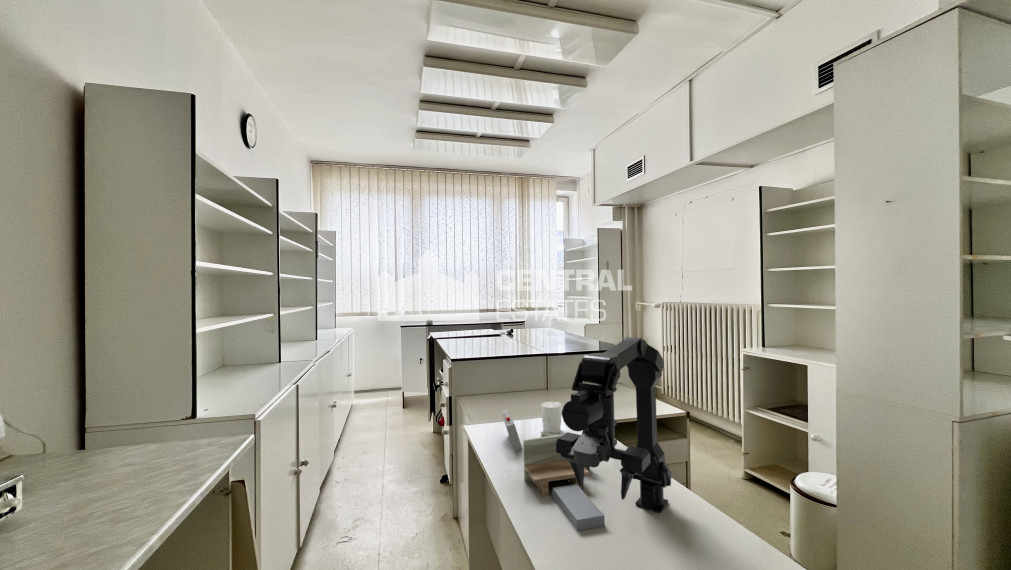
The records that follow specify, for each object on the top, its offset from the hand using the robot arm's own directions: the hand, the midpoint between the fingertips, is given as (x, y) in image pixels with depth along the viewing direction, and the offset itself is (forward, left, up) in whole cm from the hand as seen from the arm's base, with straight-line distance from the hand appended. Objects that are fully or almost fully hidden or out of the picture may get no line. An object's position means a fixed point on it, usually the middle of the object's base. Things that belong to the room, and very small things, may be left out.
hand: (601, 492), depth 87 cm
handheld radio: (-38, -34, -15) cm, 53 cm away
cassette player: (-41, -54, -14) cm, 69 cm away
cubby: (-22, -25, -14) cm, 36 cm away
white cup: (-59, -50, -15) cm, 79 cm away
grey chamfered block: (-14, -14, -14) cm, 24 cm away
